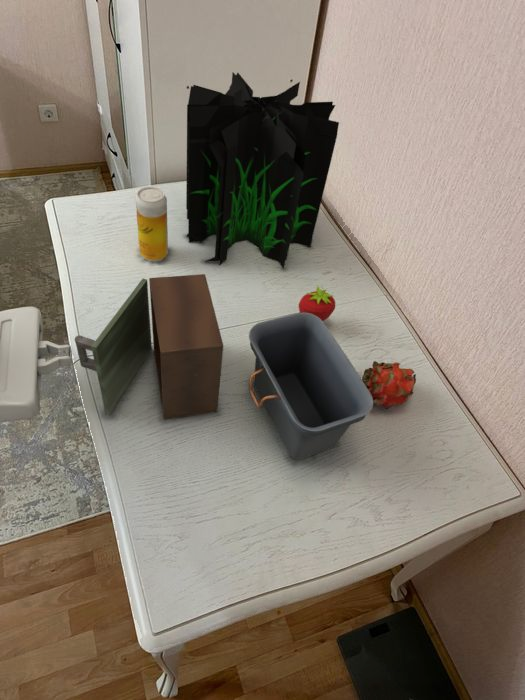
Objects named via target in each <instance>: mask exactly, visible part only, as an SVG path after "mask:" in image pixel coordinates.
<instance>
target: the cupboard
mask: <svg viewBox="0 0 525 700" xmlns="http://www.w3.org/2000/svg"><path fill="white" fill-rule="evenodd" d="M148 281H149V296H150V297H149V298H150V311H151V312H150V313H151V329H152V330H151V331H152V344H153V346H152V347H153V354H154V360H155V368H156V374H157V381H158V388H159V395H160V403H161V408H162V417H163V420H169V419H170V420H171V419H177V418H185V417H192V416H200V415H207V414H213V413H218V405H219V396H220V395H219V394H220V387H221V386H220V385H221V375H222V364H223V356H224V355H223V354H224V343H223V338H222V335H221V331H220V327H219V322H218V319H217V315H216V311H215V307H214V304H213V300H212V295H211V292H210V288H209V284H208V281H207V275H206V274H204V273H202V274H201V273H200V274H187V275H174V276H173V275H172V276H171V275H170V276H157V277H149V279H148Z"/></svg>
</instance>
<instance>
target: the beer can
mask: <svg viewBox="0 0 525 700" xmlns="http://www.w3.org/2000/svg"><path fill="white" fill-rule="evenodd" d="M135 209H136V210H135V211H136V221H137V224H136V225H137V235H138V237H137V238H138V249H139V254H140V256H141V257H142V258H144V259H145V260H146V261H149V262H160V261H162V260H163V259H164V258H166V257H167V255H168V254H169V239H168V238H169V237H168V236H169V235H168V232H169V230H168V198H167V196H166V194H165V192H164V190H162V189H161V188H159V187H156V186H146V187H142V188H140V189H139V190H138V191H137V194H136V196H135Z"/></svg>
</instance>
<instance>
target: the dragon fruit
mask: <svg viewBox="0 0 525 700" xmlns="http://www.w3.org/2000/svg"><path fill="white" fill-rule="evenodd" d="M400 366H401V363H400V362H397V361H396V362H393V363H390V362H387V363H386V362H384V361H383V362H377V361H376V360H373V362H372V367H369V368H366V369H364V371H363V375H362V377H361V379H362V381H363V382H364V384H365V386H366V387H367V389H368V390H369V392H370V394H371V395H372V398H373V405H375V406H379V405H381V406H383V407H385V409H386V410H389V409H390V408H391V407H392V406H391V405H402V404H404V403H406V402H407V400H408V399H409V398H410V397H411V396H412V395H413V394H414V391H413V389H414V387H415V385H416V382H417V377H416V376H417V375H416V373H415V371H414V369H412V368H403V367H402V368H401V367H400Z"/></svg>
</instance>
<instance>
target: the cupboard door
mask: <svg viewBox="0 0 525 700" xmlns="http://www.w3.org/2000/svg"><path fill="white" fill-rule="evenodd" d="M149 301H150V300H149V286H148V279H146V278H141V280H140V281H139V282H138V284H137V286H135V288H134V289H133V290H132V292H131V293H130V295H129V296H128V297H127V298H126V300H125V301H124V302H123V304H122V305H121V307H120V308H118V310H117V311H116V313H115V314H114V315H113V317H112V318H111V320H110V321H109V322H108V324H107V325H106V326H105V327H104V328H103V330H102V331H101V333H100V334H99V335H98V337H97V338H96V339H92V338H90V337H87V336H83V335H76V336H74V342H75V347H76V351H77V355H78V358H79V363H80V366H81V367H82V368H86V369H88V370H91V371H92V372H93V371H94V372H95V373H96V376H97V380H98V384H99V389H100V395H101V400H102V404H103V409H104V414H105V415H107V416H110V415H111V414H112V413H113V412H114V409H115V408H116V406H117V405H118V403H119V402H120V400H121V399H122V397H123V396H124V394H125V392H126V391H127V389H128V388H129V386H130V385H131V383H132V381H133V380H134V378H135V377H136V376H137V374H138V372H139V371H140V369H141V367H143V364H144V363H145V362H146V360H147V358H148V356H149V355H150V353H151V352H152V350H153V346H152V344H153V343H152V330H151V329H152V328H151V317H150V302H149ZM87 350H88V351H90V352H92V356H93V358H91V357H88V353H87Z"/></svg>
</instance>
